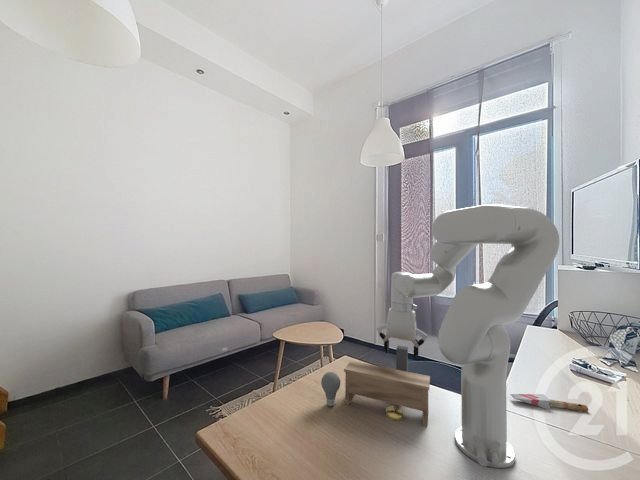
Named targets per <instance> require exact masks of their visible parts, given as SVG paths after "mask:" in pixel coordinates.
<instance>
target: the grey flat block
mask: <svg viewBox="0 0 640 480" xmlns="http://www.w3.org/2000/svg"><path fill="white" fill-rule="evenodd" d="M395 351H396V358H395V359H396V361H395V362H396V368H395V369H396V370H401V371H407V372H409V346H405V345H397V346H396V350H395Z"/></svg>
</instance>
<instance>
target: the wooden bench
mask: <svg viewBox="0 0 640 480" xmlns="http://www.w3.org/2000/svg"><path fill="white" fill-rule="evenodd" d="M343 372H345V378H344V379H345V381H344V382H345V384H344V385H345V391H344V393H345V398H344V399H345V401H344V402H345V405H348V406H349V405H350V404H351V403H352V401H353V399H354V397H355V395H356V396H361V397H364V398H367V399H373V400H377V401H381V402H385V403H388V404H392V405H395V406H400V407H404V408H408V409H413V410H416V411H420V412H422V426H425V427H428V421H429V391H430V387H431V376H430V375H427V374H421V373H417V372H416V373H415V372H412V371H411V372H410V371H408V372H407V371H401V370H396V368H391V367H386V366H382V365H381V366H380V365H374V364H370V363H366V362H360V361H355V360H354V361H353V360H350V361H349V362H348V364H347V365H346V366H345V367H344V369H343Z"/></svg>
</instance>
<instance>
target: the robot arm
mask: <svg viewBox="0 0 640 480" xmlns="http://www.w3.org/2000/svg"><path fill="white" fill-rule="evenodd" d="M431 235H432V236H433V238H434V240H436V242H435V243H434V244H433V245H432V246H431V247H430V249H429V256H430V258H431V260H432V261H433V262H434V263H435V264H436V265H437V266H436V267H434V269H433V270H431V272H430V273H420V274H419V273H417V274H412V273H411V272H408V271H395V272H393V273H391V283H390V287H391V288H390V290H391V292H390V307H389V309H388V313H387V318H386V323H385V324H382V325H380V326H377V328H376V331H377V332H378V335H379V337H380V338H381V339H382V341H383V350H385V354H388V353H389V350H390V340H389V339H390V338H391V339H397V340H400V341H401V340H402V341H407V342H408V341H409V342H411V343H412V344H413V359H414V360H415V359H417V356H419V348H420V347H421V346H422V345H423V344H424V343H425V341H427V340H426V339H427V338H428V334H427V333H425V332H424V331H422V330H421V329H419V328H417V327H418V326H417V316H416V311H415V310H417V309H418V305H417V304H415V303H414V298H424V297H425V298H427V297H436V296H437V295H440V294H442V292H444V291H445V290H446V289H447V288H448V287H449V286H450V285H451V284H452V283H453V282H454V280H455V278H456V273H457V266H458V265H460V263H461V262H462V261H463V260H464V259H465V258H466V257H467V256H468V255H469V254H470V252H472V251H473V250H474V249H475V248H476V247H477V246H478V245H479V244H480V245H481V244H482V245H483V244H488V245H489V244H494V245H496V244H497V245H499V244H501V245H510V248H509V250H507V252H506V253H505V254H504V255H503V256H502V257H501V258H500V259H499V260H498V262H497V263H496V266H495V268H494V270H493V272H492V274H491V276H490V277H489V279H488V280H487V281H486V282H484V283H475V284H469V285H466V286H464V287H462V288H460V289H459V290H458V291H457V292H456V294H455V295H454V297H453V298H452V300H451V301H450V305H449V307H448V309H447V311H446V314H445V315H444V317H443V319H442V323H441V325H440V328H439V330H438V334H437V344H438V348H439V350H440V353H441V354H442V356H443V357H444V358H445V359H446V360H447V361H449V362H450V363H453V364H455V365H460V366H461V375H460V376H461V378H460V381H461V383H460V384H461V393H460V394H461V426H460V427H459V428H457V429H456V431H455V432H454V440H455V443H456V445H457V447H458V448H459V449H460V451H462V452H463V454H464V455H466V456H467V457H469V458H470V459H472V460H474V462H477V463H479V464H480V465H481V466H482V467H487V466H488V467H491V468H495V469H496V468H497V469H505V468H509V467H511V466H513V464H515V461H516V452H515V450H514V448H513V447H512V445H511V444H510V443H509V442H508V441H507V440H508V438H507V437H508V434H507V433H508V428H507V422H508V421H507V420H508V419H507V418H508V417H507V372H508V371H507V370H508V364H509V363H508V362H509V357H510V353H511V338H510V336H509V333H508V331H507V329H506V328H505V327H504V326H505V325H510V324H514V323H516V322H517V321H519V320H520V319H521V317H522V316H523V314H524V312H525V310H526V309H527V307H528V306H529V304H530V303H531V300H532V299H533V297H534V295H535V294H536V292H537V290H538V289H539V286H540V284H541V282H542V280H543V279H544V278H545V276H546V275H547V272H548V271H549V269H550V268H551V266H552V264H553V263H554V261H555V259H556V257H557V255H558V251H559V249H560V234H559V232H558V229H557V226H556V225H555V224H554V222H553V221H552V220H551V218H549V216H547V215H546V214H544V213H543V212H541V211H538V210H536V209H534V208H530V207H526V206H525V207H524V206H519V205H518V206H517V205H505V204H497V203H494V204H493V203H492V204H482V205H475V206H470V207H469V206H468V207H464V208H458V209H452V210H446V211H444V212H442V213H440V214H438V216H436V217H435V219H434V221H433V223H432V226H431ZM385 329H386V331H385V333H386V334H385V333H384V332H383V330H385ZM418 335H419V336H420V337H421V338H420V339H419V340H418V339H417V336H418Z"/></svg>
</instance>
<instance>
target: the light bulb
mask: <svg viewBox="0 0 640 480" xmlns="http://www.w3.org/2000/svg"><path fill="white" fill-rule="evenodd" d="M340 379H341V378H340V377H339V375H338V374H337V373H336V372H333V371H328V372H325V374H323V376H322V377H321V382H320V384H321V388H322V389H323V392H324V393H325V398H326V406H328V407H334V406H335V404H336V400H335V399H336V397H337V393H338V391H339V389H340V387H341V380H340Z"/></svg>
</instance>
